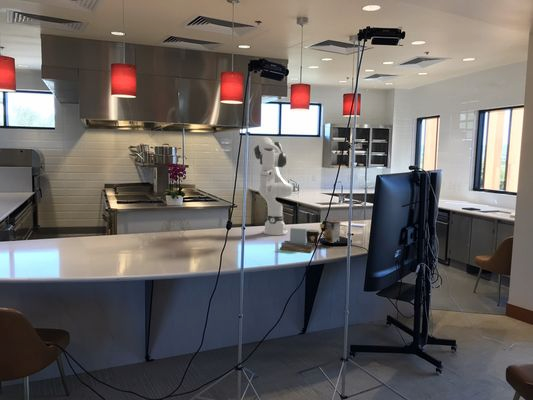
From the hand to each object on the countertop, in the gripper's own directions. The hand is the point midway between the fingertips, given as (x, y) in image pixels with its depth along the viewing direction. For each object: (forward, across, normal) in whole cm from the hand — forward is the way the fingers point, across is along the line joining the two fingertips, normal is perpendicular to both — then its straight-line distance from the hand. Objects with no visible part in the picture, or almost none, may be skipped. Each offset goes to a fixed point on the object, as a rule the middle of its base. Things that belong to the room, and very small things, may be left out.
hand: (267, 192), depth 308 cm
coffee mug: (+34, -6, +32) cm, 48 cm away
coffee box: (+34, -14, +43) cm, 57 cm away
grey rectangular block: (+33, +10, +25) cm, 43 cm away
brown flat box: (+34, +10, +25) cm, 44 cm away
